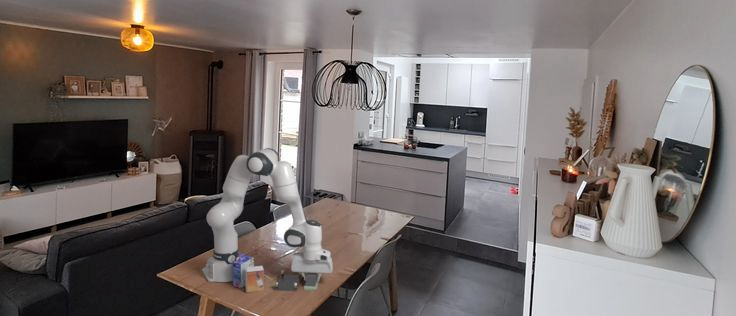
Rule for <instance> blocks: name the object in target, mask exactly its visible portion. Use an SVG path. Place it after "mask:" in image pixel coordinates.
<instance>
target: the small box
mask: <svg viewBox="0 0 736 316" xmlns="http://www.w3.org/2000/svg"><path fill="white" fill-rule="evenodd" d="M264 277H265V270H264V267H263V265H257V266H255V265H254V267H246V279H245V286H244V287H245V291H246V293H247V294H249V293H253V292H255V293H256V292H263V291H265V289H264V288H265V287H264V286H265V285H264V284H265V282H264V281H265V278H264Z"/></svg>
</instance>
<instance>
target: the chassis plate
mask: <svg viewBox="0 0 736 316" xmlns="http://www.w3.org/2000/svg"><path fill="white" fill-rule="evenodd" d="M302 278H303V275H302V272H298V274H285V270H284V269H281V270H280V276H279V278H278V280H277V281H275V282H274V287H273V290H274V291H286V292H287V291H289V292H297V291H298V289H299V286H300V283H301V281H302Z"/></svg>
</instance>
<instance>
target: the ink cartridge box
mask: <svg viewBox="0 0 736 316" xmlns="http://www.w3.org/2000/svg"><path fill="white" fill-rule="evenodd" d="M238 257H239V259H238V260H236V261H235V262H233V281H232V284H233V287H237V288H239V289H242V288H244V287H245V279H246V267H255V265H254V264H255V263H254V256H249V255H244V253H241V254H239V256H238ZM240 257H241V258H240Z"/></svg>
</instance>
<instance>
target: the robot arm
mask: <svg viewBox="0 0 736 316" xmlns="http://www.w3.org/2000/svg"><path fill="white" fill-rule="evenodd" d="M294 171H295V170H294V169H293V167H292V164H291V163H290V162H288V161H286V160H280V155H279V153H278V152H277V151H276V150H275V149H273V148H269V147H267V148H262V149H259V150H257V151H254V152H253V153H251V154H250V155H246V154H240V155H237V156H236V158H235V159H234V161H233V162H232V164H231V166H230V167H229V170H228V173H227V175H226V178H225V181H224V183H223V186H222V191H223V193H222V198H221V200H220V202H219V203H217V204H215V205H214V206H213V207H211V208H210V210H209V211H208V212H207V213H206V222H207V224H208V225H209V226H210V227H211V230H212V232H213V243H214V245H213V246H214V248H213V249H212V251H213V252H212V256H211V257H210V258H208V259H207V261H206V264H205V266H204V267H203V268H202V269H201V270H202V271H201V272H202V274H203V275H204V277H205V279H206V280H207V282H209V283H210V282H211V283H213V282H217V283H228V282H233V262H235V261H236V260H238V259H239V257H238V256H239V255H240V251H239V250H240V249H239V242H238V241H239V238H238V237H239V235H238V232H237V231H236V230H235V226H234V222H235V220H236V219H238V218H239V216H241V215H242V212H243V210H244V203H245V201H244V200H245V197H246V194H247V191H248V188H249V186H250V183H251V180H252V178H253V175H257V176H263V177H269V176H270V178H271V181H272V187H273V191H274V194H275V197H276V199H277V200H278V201H279V202H281V203H283V204H284V203H285V204H287V205H288V207H289V210H290V213H291V217H292V225H291V226H290V227H288V229H287V230H285V232H284V234H283V241H284V243H285V244H286V245H287V247H291V248H302V252H294V253H291V254H290V255H291V256H290V260H291V265H290V270H291V271H292V272H293V273H295V272H296V273H299V272H302V278H303V281H306V276H307V274H306V273H317V274H318V275H317V277H316V281H319V282H320V278H321V276H322V274H332V273H333V272H334V271H333V270H334V264H333V259H332V257H331V255H332V254H331V251H329V250H326V249H324V248H323V247H322V240H323V230H322V225H321V223H320V222H318V221H316V220H313V219H307V218H306V214H305V210H304V206H303V202H302V199H301V196H300V194H299V188H298V183H297V178H296V174H295V172H294ZM240 258H242V256H241V257H240Z"/></svg>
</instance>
